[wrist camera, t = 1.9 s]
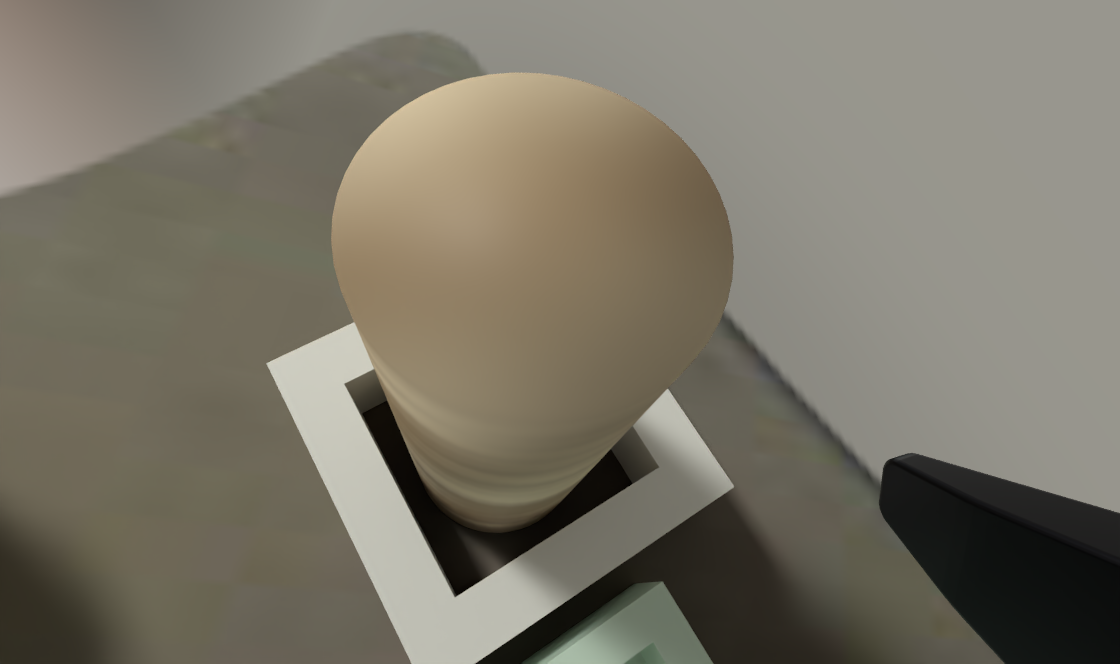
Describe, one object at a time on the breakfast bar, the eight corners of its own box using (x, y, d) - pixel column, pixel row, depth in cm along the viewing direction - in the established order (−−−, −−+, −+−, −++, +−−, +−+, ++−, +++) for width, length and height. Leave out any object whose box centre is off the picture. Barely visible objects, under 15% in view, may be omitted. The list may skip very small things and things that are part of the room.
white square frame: (697, 501, 20) (734, 486, 17) (434, 680, 17) (427, 696, 14) (547, 272, 22) (558, 227, 20) (295, 395, 20) (266, 363, 17)
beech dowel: (607, 478, 20) (810, 300, 8) (465, 566, 18) (457, 509, 6) (526, 348, 21) (597, 30, 9) (388, 420, 20) (263, 151, 8)
